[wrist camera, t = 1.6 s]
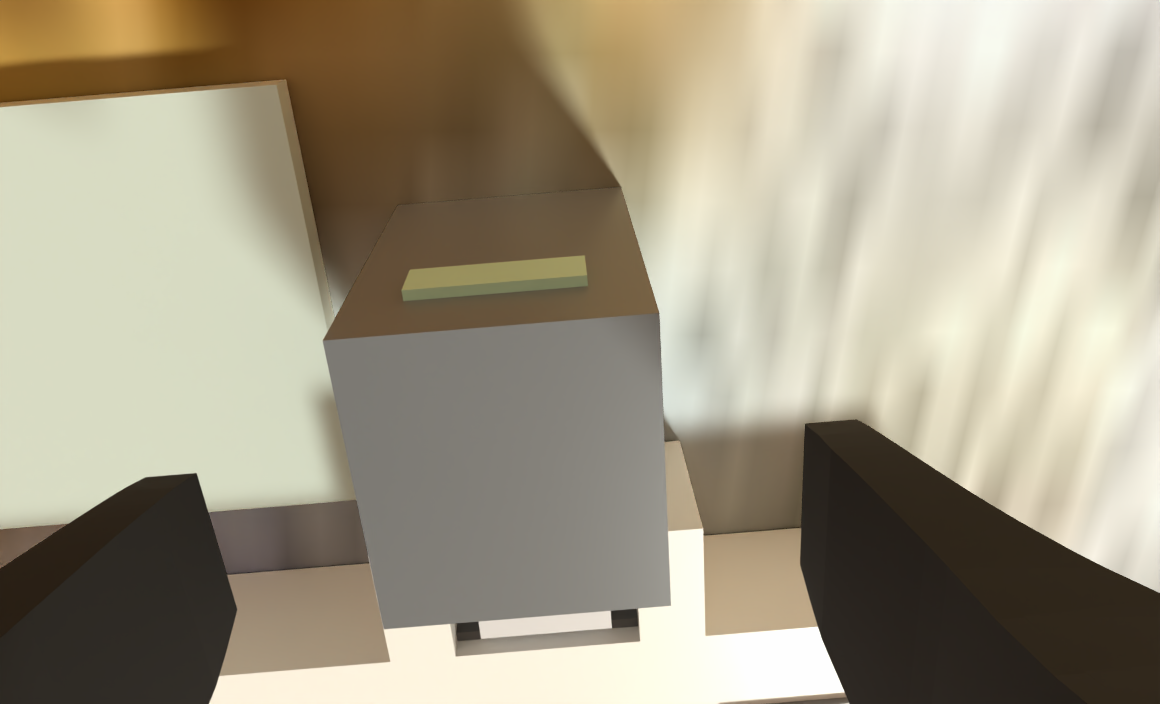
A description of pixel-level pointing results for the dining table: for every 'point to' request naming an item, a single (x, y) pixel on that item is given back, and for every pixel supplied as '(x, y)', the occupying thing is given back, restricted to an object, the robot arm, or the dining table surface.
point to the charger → (506, 414)
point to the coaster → (162, 304)
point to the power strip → (546, 636)
